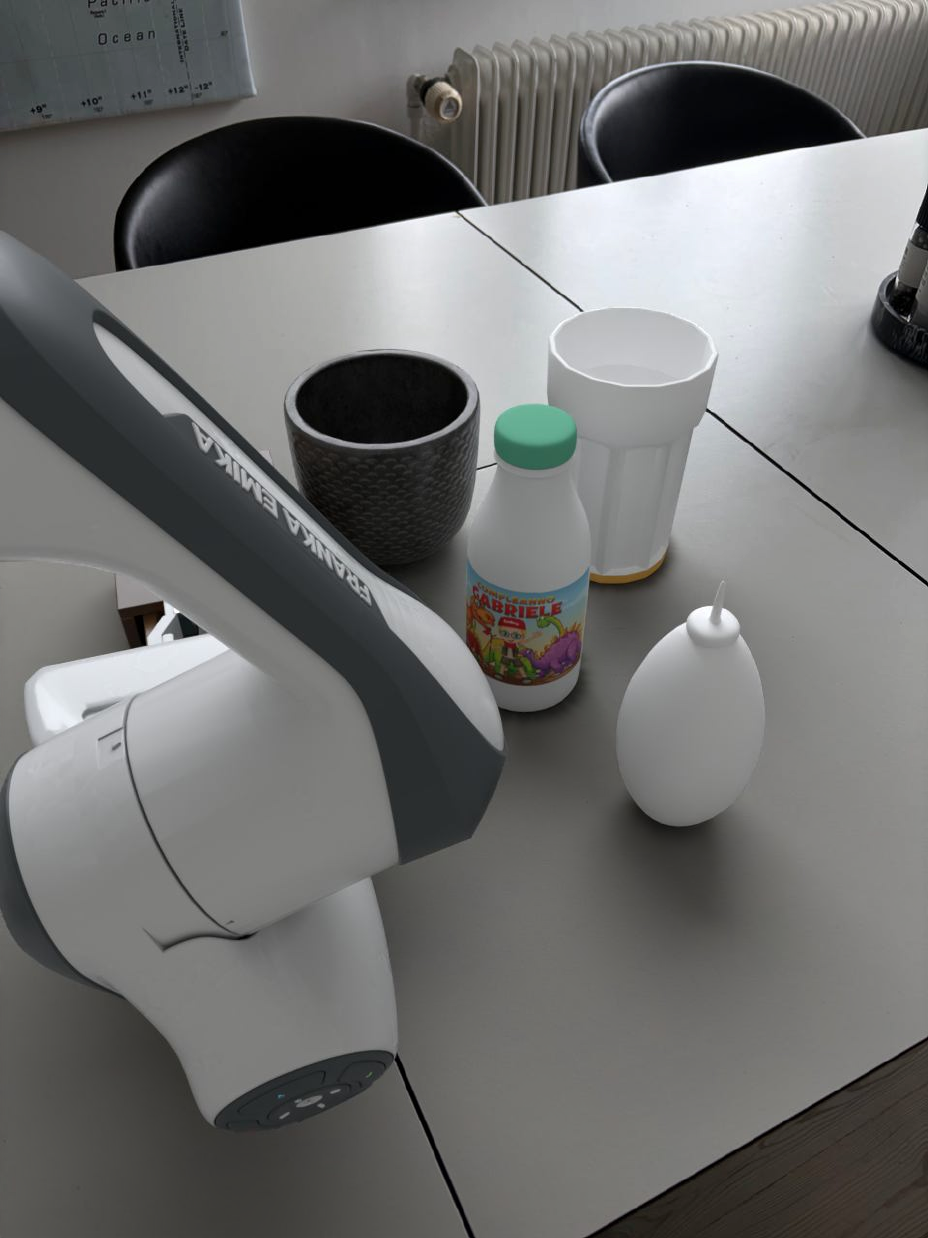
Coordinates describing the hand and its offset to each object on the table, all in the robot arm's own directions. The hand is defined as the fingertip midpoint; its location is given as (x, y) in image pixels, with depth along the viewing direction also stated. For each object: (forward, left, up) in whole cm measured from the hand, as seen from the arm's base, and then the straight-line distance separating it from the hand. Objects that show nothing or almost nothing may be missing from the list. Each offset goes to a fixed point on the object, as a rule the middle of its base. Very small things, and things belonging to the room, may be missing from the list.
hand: (214, 596), depth 58 cm
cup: (+30, +10, -11) cm, 33 cm away
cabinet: (0, +11, -11) cm, 15 cm away
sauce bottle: (+24, -14, -11) cm, 30 cm away
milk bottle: (+19, -1, -11) cm, 22 cm away
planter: (+14, +16, -11) cm, 24 cm away
